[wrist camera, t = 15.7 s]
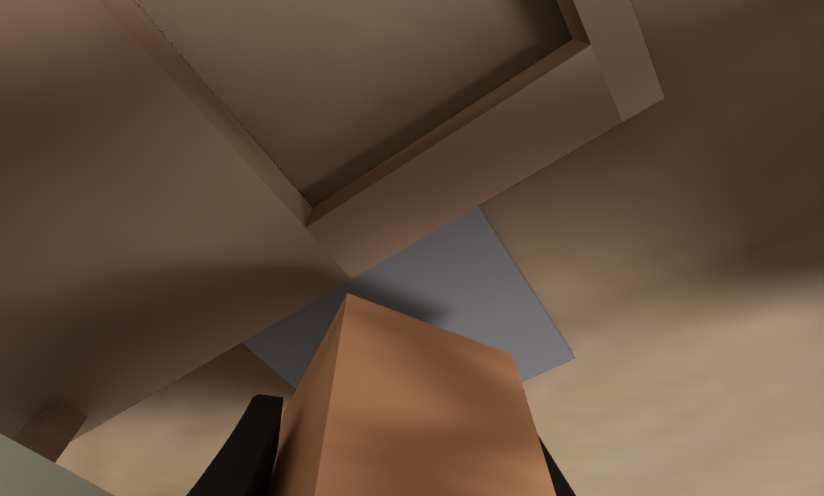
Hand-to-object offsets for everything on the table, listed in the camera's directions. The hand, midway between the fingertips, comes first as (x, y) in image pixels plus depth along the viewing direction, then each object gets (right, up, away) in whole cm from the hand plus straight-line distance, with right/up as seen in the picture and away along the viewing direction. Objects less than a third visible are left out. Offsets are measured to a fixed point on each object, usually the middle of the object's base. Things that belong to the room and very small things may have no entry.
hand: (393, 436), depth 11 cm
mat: (0, +2, +4) cm, 4 cm away
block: (0, +1, +2) cm, 2 cm away
